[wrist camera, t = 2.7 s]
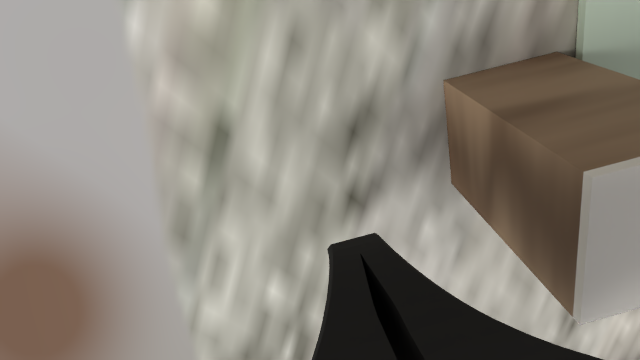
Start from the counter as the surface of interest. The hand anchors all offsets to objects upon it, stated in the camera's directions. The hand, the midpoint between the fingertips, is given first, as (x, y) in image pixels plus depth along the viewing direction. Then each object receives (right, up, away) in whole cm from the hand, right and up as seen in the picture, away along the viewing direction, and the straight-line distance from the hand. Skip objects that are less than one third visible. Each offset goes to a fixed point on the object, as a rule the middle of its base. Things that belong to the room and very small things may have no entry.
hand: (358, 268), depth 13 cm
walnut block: (+6, +5, +6) cm, 10 cm away
